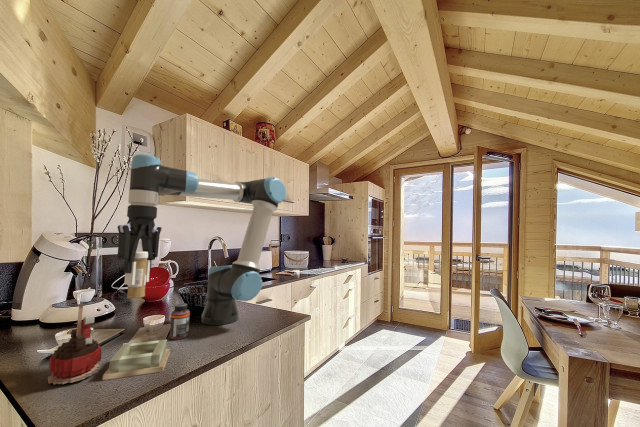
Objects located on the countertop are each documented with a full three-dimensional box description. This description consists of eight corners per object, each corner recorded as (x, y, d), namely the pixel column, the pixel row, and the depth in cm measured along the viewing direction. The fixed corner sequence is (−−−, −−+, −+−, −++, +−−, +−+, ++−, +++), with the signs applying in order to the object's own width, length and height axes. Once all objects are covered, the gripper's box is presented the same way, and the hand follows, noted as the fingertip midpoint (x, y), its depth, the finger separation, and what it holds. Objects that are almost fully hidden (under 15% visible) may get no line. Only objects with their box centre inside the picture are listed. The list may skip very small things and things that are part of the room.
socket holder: (170, 352, 81) (170, 338, 81) (162, 371, 70) (163, 354, 70) (119, 359, 76) (120, 344, 76) (102, 380, 65) (104, 362, 65)
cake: (45, 376, 66) (53, 303, 68) (93, 363, 73) (99, 297, 75) (50, 393, 59) (58, 311, 61) (102, 376, 67) (109, 304, 68)
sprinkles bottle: (148, 295, 80) (151, 251, 82) (138, 299, 76) (141, 252, 77) (133, 295, 80) (136, 251, 82) (122, 298, 76) (126, 251, 77)
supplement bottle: (170, 335, 95) (172, 303, 96) (189, 333, 97) (190, 301, 98) (168, 341, 89) (170, 307, 90) (187, 338, 92) (189, 305, 93)
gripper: (155, 208, 90) (150, 278, 88) (104, 201, 73) (96, 287, 71) (174, 208, 88) (169, 279, 86) (127, 201, 71) (120, 289, 69)
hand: (136, 282), depth 78 cm, fingers closed on sprinkles bottle, 4 cm apart
